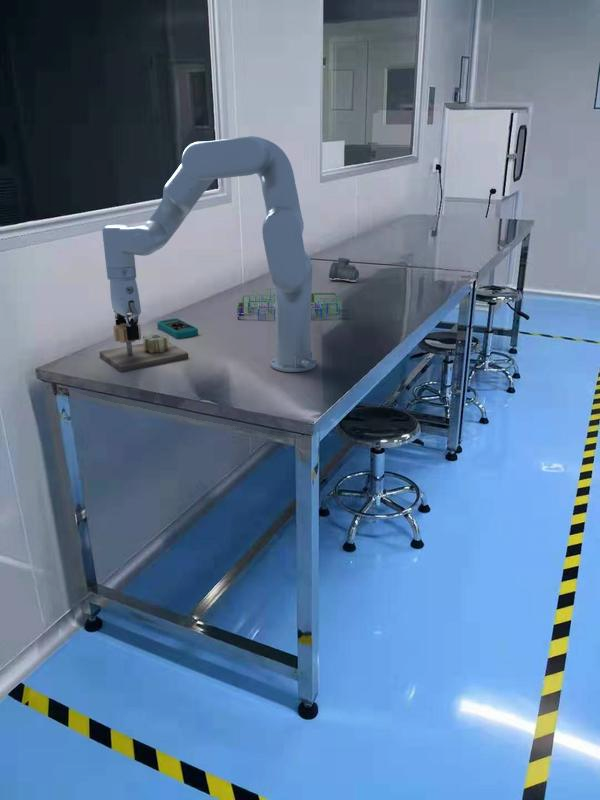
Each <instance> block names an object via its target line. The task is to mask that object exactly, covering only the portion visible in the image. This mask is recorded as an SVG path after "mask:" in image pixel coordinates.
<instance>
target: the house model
mask: <svg viewBox="0 0 600 800" xmlns="http://www.w3.org/2000/svg"><path fill="white" fill-rule="evenodd" d="M267 291H269V293H267V294H266V299H261V295H254V298H255V299H254V300H251V297H252V298H253V294H252V292H251V293H250V294H251V295H248V299H247V300H248V301H247V302H245V295H242V300H241V302H238V304H237V308H236V310H237V314H239V313H240V315H239V316H238V315H237V319H238V318H240V319H242V315H241V313H244V315H248V313H249V315H250V316H249V318H250V320H253V318H252V317H251V313H252V310H255V309H257V320H258V321H260V315H259V313H260V314H261V313H262V318H265V313H266V312H267V311H268V312H269V313H270V314H269V316H270V317H269V318H270V319H269V320H270V321H272V320H271V318H272V315H273V320H274V321H276V316H275V309H276V306H275V294H272V288H267ZM253 293H254V294H257V291H255V290H253ZM270 295H272V297H273V300H269V299H270ZM317 295H325V296H326V295H330V296H331V295H334V296H335V297H317V298H316V296H317ZM258 297H259V300H257V298H258ZM264 297H265V295H262V298H264ZM267 298H268V300H267ZM316 299H317V300H316ZM325 299H326V300H325ZM320 300H323V301H320ZM327 300H335V301H333V302H331V301H327ZM251 303H252V306H253V305H254V306H255V307H252V306H251ZM256 303H257V306H256ZM264 303H267V304H266V305H265V304H264ZM311 303H314V306H311V319H312V318H313V317H312V315H313V314H315V313H316V317H317V316H318V317H319V318H320V317H321V318H322V316H323V315H325V316H326V317H325V319H326V318H327V317H328V316H331V315H334V312H330V311H331V310H334V309H335V311H336V312H335V313H336V314H335V316H336V317H337V316H338V315H339V317H338V319H339V318H341V317H340V316H341V315H340V314H341V312H340V311H341V307H340V303H339V300H338V298H337V295H336V293H335V292H331V293H330V292H327V293H325V292H317V293H313V292H311ZM245 304H247V306H245ZM270 304H273V306H270ZM331 306H333V307H331ZM245 309H247V311H246V312H245ZM249 309H250V312H249ZM251 309H252V310H251ZM265 309H266V310H265ZM322 309H323V310H325V311H326V312H323V310H322ZM318 311H319V313H318ZM268 312H267V313H268ZM337 312H338V313H337ZM252 314H253V313H252ZM271 314H272V315H271ZM327 314H328V315H327Z"/></svg>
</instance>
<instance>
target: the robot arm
mask: <svg viewBox="0 0 600 800" xmlns="http://www.w3.org/2000/svg"><path fill="white" fill-rule="evenodd" d="M256 174H257V176H258V177H259V179H260V182H261V191H262V196H263V199H264V200H263V201H264V205H265V206H264V207H265V212H266V213H265V214H266V217H264V220H263V223H262V230H261V231H262V233H261V234H262V239H263V246H264V250H265V255H266V261H267V266H268V272H269V276H270V279H271V282H272V284H273V285H274V287H275V294H274V295H275V307H276V308H275V357H273V358H272V359H271V360H270V367H271V368H273V369H274V370H276V371H279V372H280V371H281V372H287V373H301V372H307V371H310V370H313V369H315V368H316V366H317V362H318V361H317V359H315V358H314V357H313V352H312V350H311V349H312V346H311V345H312V327H311V326H312V320H311V307H312V305H311V293H312V288H313V287H312V286H313V285H312V284H313V263H312V260H311V257H310V255H308V253H307V252H306V250H305V245H304V239H303V232H304V227H305V225H304V219H303V216H302V211H301V205H300V199H299V194H298V193H299V192H298V190H297V185H296V179H295V174H294V170H293V166H292V164H291V161H290V159H289V158H288V156H287V154H286V153H285V152H284V150H283V149H282V148H281V147H280V146H279V145H277V144H276V143H274V142H273V141H270V140H268V139H265V138H263V137H260V136H254V135H253V136H241V137H234V138H233V137H232V138H226V139H225V138H224V139H217V140H208V141H206V140H205V141H195V142H193V143H190V144H189V145H188V146H187V147H185V149H184V151H183V153H182V154H181V163H180V165H179V166H178V167H177V169H176V170H175V171H174V173H173V174H172V176H171V177H170V178H169V180H167V182H166V183H165V185H164V187H163V190H162V191H163V192H162V194H163V195H162V198H161V201H160V203H159V205H158V206H157V208H156V209H155V211H154V212H153V214H152V215H150V217H149V219H148V220H147V221H146V222H145V223H143V224H140V225H138V226H133V227H132V226H130V225H128V224H124V223H121V224H120V223H117V224H116V223H115V224H108V225H105V226H103V228H102V241H103V250H104V258H105V267H106V269H105V270H106V275H107V276H106V277H107V280H108V281H109V287H110V289H109V291H110V301H111V307H112V309H113V312H114V319H115V325H120V324H122V323H125V324H127V326H126V331H127V340H128V341H132V340H136V341H138V340H137V339H139V330H138V324H139V317H140V315H141V313H142V309H141V301H140V295H139V288H138V284H137V279H136V278H137V267H136V258H135V256H141V257H142V256H143V257H145V256H150V255H153V254H154V253H155V252H156V251H159V250H160V249H162V248H163V247H164V246H165V245H166V244H167V243H168V242H169V241H170V239H172V237H173V236H174V234H175V233H176V232H177V230H178V229H179V228H180V226H181V225H182V224H183V223H184V221H185V219H186V218H187V217H188V215H189V214H190V212H191V211H192V209H193V207H195V205H196V204H197V202H198V201H199V200H200V199H201V197H202V196H203V195H204V193H206V191H207V189H208V188H209V187H210V186H211V184H212V183H213V182H214V181H215V180H217V179H219V180H220V179H227V178H235V177H236V178H237V177H245V176H246V177H247V176H252V175H256Z"/></svg>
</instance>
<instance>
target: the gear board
mask: <svg viewBox="0 0 600 800" xmlns="http://www.w3.org/2000/svg"><path fill="white" fill-rule="evenodd" d="M152 334H153V338H158V333H152ZM125 345H126V346H123V347H117V348H112V349H106V350H105V349H104V350H100V351H99V357H100V358H101V359H102V360H104V361H105V362H106V363H108V364H109V365H111V366H112V367H113V368H114V369H116V370H117V371H119V372H120V373H122V372H127V371H128V372H129V371H133V370H138V369H142V368H147V367H151V366H157V365H161V364H166V363H172V362H176V361H181V360H182V361H183V360H188V359H189V353H188V352H187V351H185V350H183V349H182V348H179V347H178V346H176V345H175V344H173V343H171V342H170V341H169V350H165V351H164V352H154V353H150V352H149V351H146V352H145V351H144V345H143V343H139V344H133V342H125Z"/></svg>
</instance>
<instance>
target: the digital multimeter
mask: <svg viewBox="0 0 600 800" xmlns="http://www.w3.org/2000/svg"><path fill="white" fill-rule="evenodd" d="M156 323H157V324H156V325H157V329H158V330H160V331H162V332H164V333H165V334H166V333H167V335H170V336H171V337H173V338H175V339H177V340H178V339H185V338H186V339H187V338H191V337H192V338H193V337H194V336H198V335H199V329H198V328H197V327H195V326H194V325H191V324H189V323H187V322H185V321H183V320H181V319H180V318H178V317H177V318H176V317H173V318H168V319H164V320H163V319H162V320H160V321H158V322H156Z"/></svg>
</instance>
